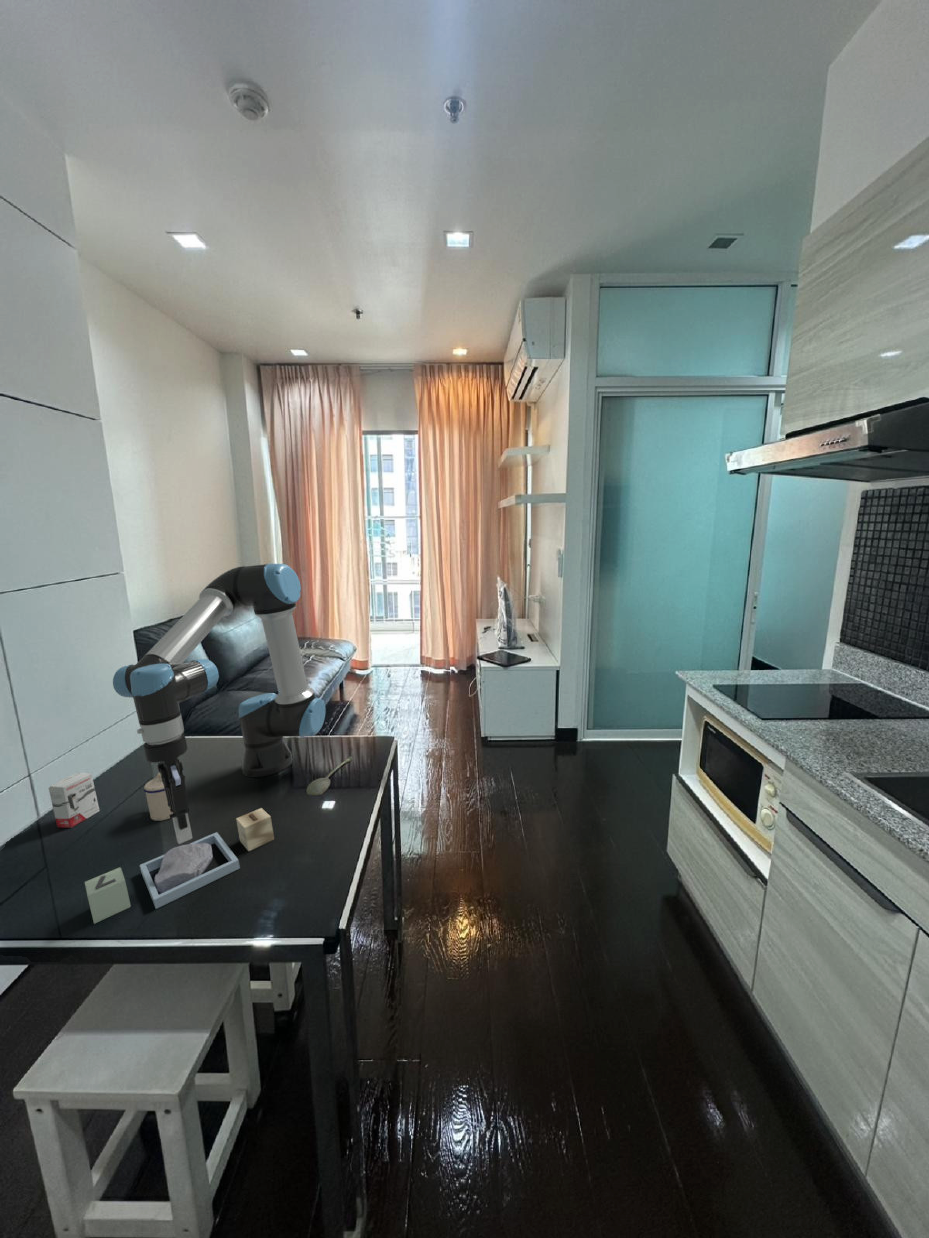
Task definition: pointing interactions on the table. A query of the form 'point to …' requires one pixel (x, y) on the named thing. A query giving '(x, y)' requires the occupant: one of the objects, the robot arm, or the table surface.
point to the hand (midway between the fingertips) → (184, 839)
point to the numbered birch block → (255, 829)
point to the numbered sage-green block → (107, 894)
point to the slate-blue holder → (193, 883)
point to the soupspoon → (322, 782)
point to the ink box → (74, 799)
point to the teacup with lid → (157, 799)
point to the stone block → (182, 865)
